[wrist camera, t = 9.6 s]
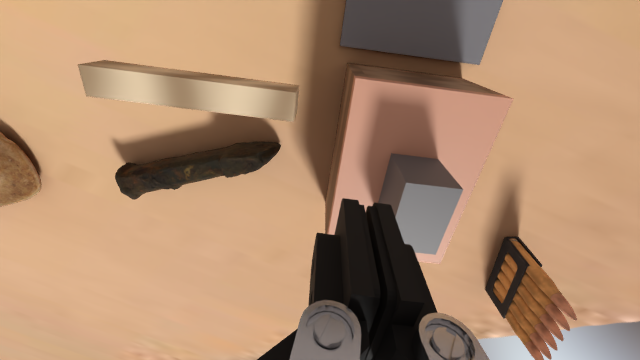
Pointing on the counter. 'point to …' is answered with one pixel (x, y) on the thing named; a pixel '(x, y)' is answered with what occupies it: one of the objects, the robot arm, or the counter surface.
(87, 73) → the rectangular bar
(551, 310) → the ammunition clip
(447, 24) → the mat
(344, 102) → the toolbox
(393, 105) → the lid
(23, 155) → the brown boot
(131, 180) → the black rough elongated piece
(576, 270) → the counter surface
